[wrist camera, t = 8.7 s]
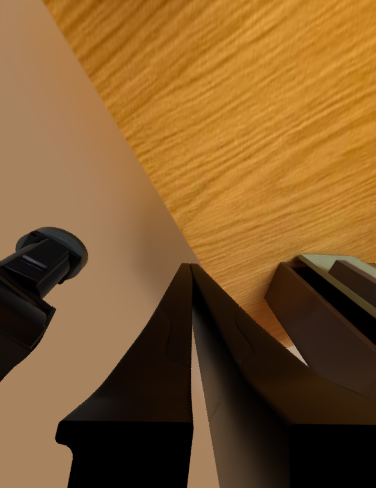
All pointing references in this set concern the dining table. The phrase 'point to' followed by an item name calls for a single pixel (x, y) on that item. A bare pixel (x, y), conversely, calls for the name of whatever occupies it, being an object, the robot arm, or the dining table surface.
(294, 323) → the cupboard
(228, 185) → the dining table surface
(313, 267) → the sliding door
